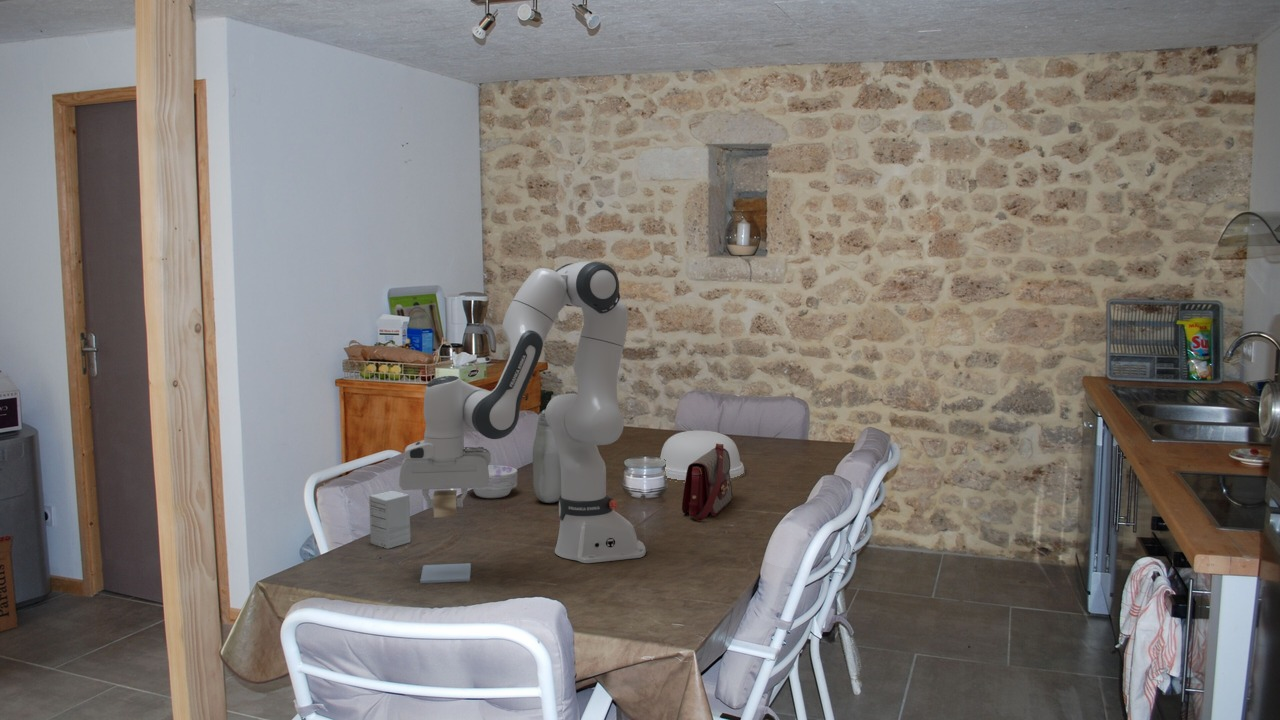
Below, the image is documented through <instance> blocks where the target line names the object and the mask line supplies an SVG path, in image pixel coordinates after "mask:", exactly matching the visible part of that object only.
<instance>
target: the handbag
mask: <svg viewBox="0 0 1280 720" xmlns="http://www.w3.org/2000/svg"><path fill="white" fill-rule="evenodd" d="M723 445H724V444H717V443H716V447H715V448H714V449H712V450H711V451H709V452H708V453H706V454H705V455H703V456H701V457H700V458H699V459H697V460H696V461H695V462H693V463H692V464H690V465H689V466H688V469H687V474H686V480H685V482H684V489H683V495H682V503H681V511H682V513H683V514H687V513H688V515H689V517H690V518H691V519H693V520H695V519H696V521H698V520H701V521H703V520H705V518H707V517H708V516H709V514H710V515H711V516H712V517H716V516H717V515H718V514H720V511H721V510H722V509H723V508H724V507H725V506H726V505H727V504H728V503H729V502H730V503H731V500H732V498H733V487H732V486H733V485H732V481H731V479H730V472H729V471H730V456H729V453H728V451H727V450H726V449H724V447H723ZM730 503H729V504H730ZM729 504H728V505H729ZM728 505H727V506H728ZM727 506H726V507H727ZM726 507H725V508H726ZM725 508H724V509H725ZM724 509H723V510H724ZM723 510H722V511H723ZM722 511H721V512H722ZM686 512H687V513H686ZM717 513H718V514H717ZM716 514H717V515H716ZM715 515H716V516H715Z"/></svg>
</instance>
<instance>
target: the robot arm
mask: <svg viewBox="0 0 1280 720" xmlns="http://www.w3.org/2000/svg"><path fill="white" fill-rule="evenodd" d="M618 277H619V276H618V275H617V273H616V271H615V270H614V269H613V268H612V267H611V266H609V264H606V263H603V262H602V261H601V262H600V261H586V260H585V261H579V262H575V263H567V264H564V265H562V266H560V267H558V268H557V269H555V270H553V269H551V268H547V267H540V268H537V269H534V270H533V271H531V273H530V274H529V275H528V277H527V278H526V279H525V280H524V282H523V284H521V286H520V287H519V289H518V291H517V292H516V294H515V295H514V297H513V299H512V301H511V302H510V304H509V306H508V308H507V310H506V312H505V314H504V317H503V320H502V324H501V325H502V326H501V327H502V332H503V335H504V337H505V339H506V340H507V342H508V345H509V357H508V359H507V362H506V365H505V366H504V368H503V371H502V373H501V375H500V378H499V380H498V382H497V385H496V386H495V388H494V389H492V390H488V389H484V388H481V387H478V386H475V385H473V384H470V383H468V382H466V381H464V380H462V379H461V378H460V377H459V376H456V375H446V376H439V377H435V378H433V379H432V380H430V381H429V382H428V383H427V385H426V387H425V389H424V395H423V396H424V399H423V418H424V419H423V420H424V421H425V422H424V423H425V430H424V434H423V435H424V436H423V437H424V438H423V439H422V440H419V441H416V442H413V443H411V444H408V445H407V446H406V447H405V449H404V453H403V454H404V458H403V460H402V462H401V466H400V471H399V472H400V473H399V481H398V482H399V484H398V485H399V488H400V489H401V490H403V491H415V490H416V491H417V490H419V491H420V490H422V491H421V493H422V496H423V497H424V499H425V501H426V502H427V509H434V501H433V498H431V497H430V495H429V493H430V490H455V489H460V492H461V493H462V494H461V496H460V497H457V498H456V507H457V508H463V507H464V499H465V498H466V496H467V494H468V489H473V488H485V487H487V486H488V485H489V470H488V465H490V464H491V462H492V461H491V460H492V457H491V455H492V454H491V452H490V451H489V450H488V449H487V448H485V447H484V446H478V447H476V446H475V447H473V446H471V447H470V446H465V436H464V435H465V433H464V432H465V431H466V430H470V429H472V430H474V431H475V432H478V433H479V434H480V435H482V436H483V437H485V438H487V439H490V440H500V439H503V438H506V437H507V436H509V435H510V434H511V433H512V432H513V431H514V429H515V428H516V427H517V424H518V421H519V418H520V410H521V404H522V400H523V397H524V395H525V392H526V390H527V387H528V385H529V384H530V381H531V379H532V376H533V374H534V372H535V369H536V367H537V364H538V362H539V360H540V357H541V354H542V351H543V347H544V344H545V341H546V340H547V337H548V335H549V332H550V331H551V329H552V327H553V325H554V323H555V321H556V319H557V317H558V315H559V313H560V312H561V311H562V309H563V308H564V307H565V306H567V307H576V308H581V311H582V314H583V324H582V328H581V332H580V335H579V340H578V343H577V348H576V352H575V356H574V360H573V365H572V367H573V372H574V374H575V376H576V381H577V393H569V392H568V393H562V394H558V395H556V396H554V397H552V398H551V399H550V400H549V401H548V404H547V405H546V408H545V409H546V411H545V418H546V422H547V424H548V425H549V427H550V428H551V430H552V432H553V435H554V439H555V442H556V446H557V450H558V455H559V459H560V467H561V496H560V498H559V501H558V516H559V528H558V529H559V530H558V536H557V542H556V545H555V549H554V553H555V554H556V555H557V556H559V557H560V558H563V559H567V560H573V561H577V562H579V563H583V564H593V563H602V562H611V561H621V560H622V561H623V560H630V559H639V558H642V557H644V556H645V555H646V552H647V551H646V546H645V544H644V543H643V541H641V540H639V539H638V538H637V533H636V530H635V527H634V526H633V524H632V523H631V521H629V520H628V519H627V518H625V517H624V516H622V515H621V514H619V512H617V511H615V510H616V509H617V508H618V505H619V504H618V502H617V500H616V499H614V498H613V497H611V495H609V494H607V493H606V492H607V467H606V463H605V460H604V458H602V455H601V454H600V451H599V448H598V446H605V445H610V444H611V445H612V443H615V442H616V441H617V440H618V439H619V438H620V437H621V435H622V433H623V430H624V426H625V421H624V416H623V414H622V413H623V412H621V410H620V406H619V403H618V401H619V400H618V392H617V391H618V390H617V389H618V388H617V387H618V385H617V383H618V382H617V381H618V374H619V370H620V365H621V359H622V355H623V351H624V347H625V341H626V339H627V338H626V337H627V329H628V320H629V312H628V309H627V307H626V305H625V304H624V303H623V302H622V301H620V299H621V294H620V281H619V278H618Z"/></svg>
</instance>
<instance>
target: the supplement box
mask: <svg viewBox="0 0 1280 720" xmlns="http://www.w3.org/2000/svg"><path fill="white" fill-rule="evenodd" d="M368 499H369V502H368V503H369V524H370V526H369V527H370V528H369V530H370V532H369V533H370V544H371V545H374V546H377V547H380V548H383V547H384V548H383V549H387V550H388V549H392V548H395V547H399V546H402V545H406V544H409V543H411V513H410V512H411V507H410V506H411V505H410V495H409V494H407V493H404V492H400V491H395V490H389V491H385V492H381V493H375V494H370V495H369V496H368Z"/></svg>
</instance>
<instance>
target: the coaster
mask: <svg viewBox="0 0 1280 720" xmlns="http://www.w3.org/2000/svg"><path fill="white" fill-rule="evenodd" d="M471 568H472V563H470V562H469V563H467V562H466V563H464V562H463V563H445V564H444V563H442V564H424V565H422V570H421V576H420V579H419V580H420V581H419V582H420V584H432V583H433V584H434V583H435V584H437V583H452V582H453V583H456V582H457V583H459V582H471V571H472V569H471Z"/></svg>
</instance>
